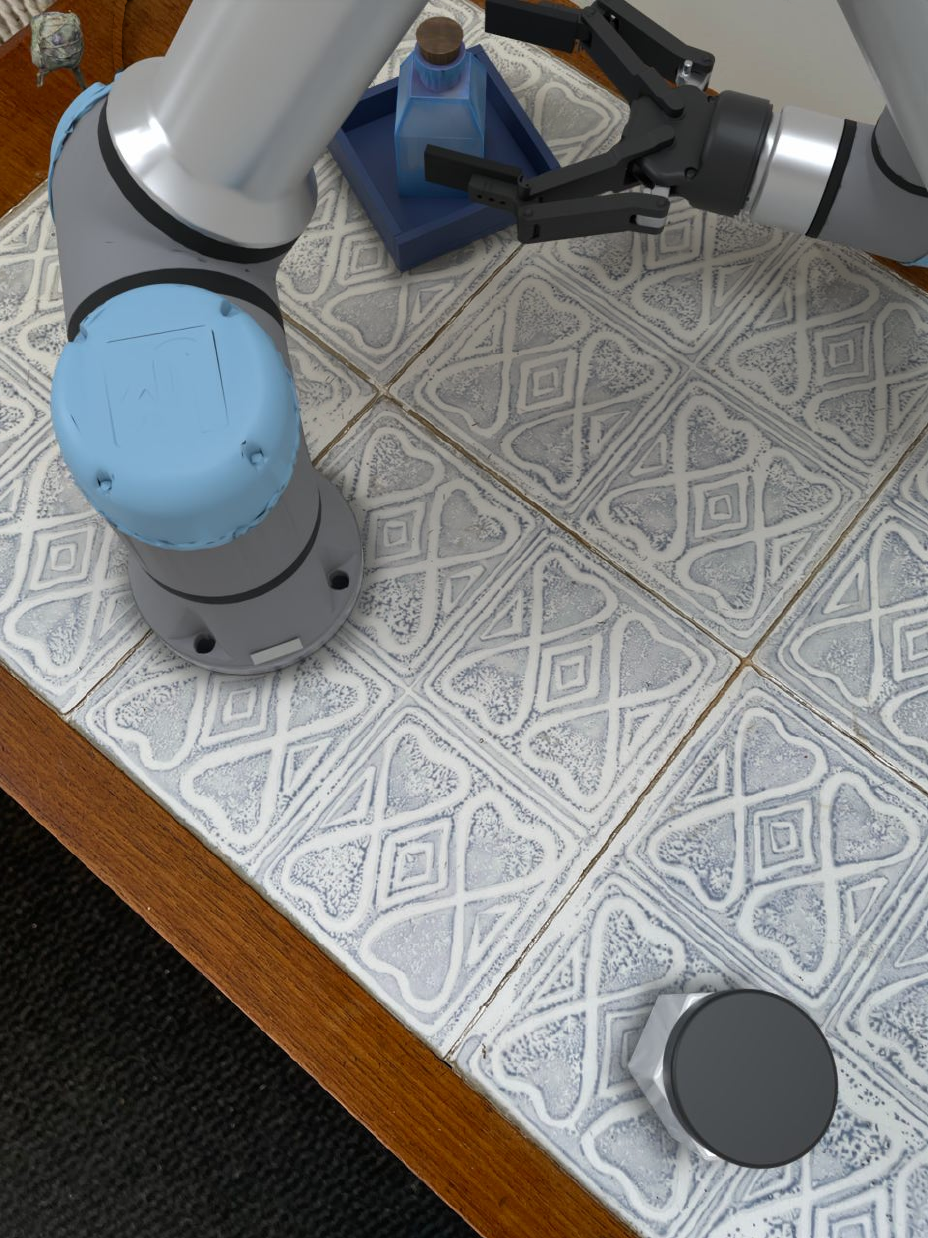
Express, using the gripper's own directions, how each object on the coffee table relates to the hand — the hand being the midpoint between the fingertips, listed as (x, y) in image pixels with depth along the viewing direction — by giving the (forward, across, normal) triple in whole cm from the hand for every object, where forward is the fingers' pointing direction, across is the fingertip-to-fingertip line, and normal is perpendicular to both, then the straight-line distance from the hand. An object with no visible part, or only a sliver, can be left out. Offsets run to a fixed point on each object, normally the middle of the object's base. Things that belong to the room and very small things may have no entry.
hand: (456, 85), depth 77 cm
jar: (-33, -56, -9) cm, 65 cm away
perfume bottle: (+1, 0, -8) cm, 8 cm away
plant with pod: (+21, -10, -9) cm, 25 cm away
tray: (+1, 0, -9) cm, 9 cm away
